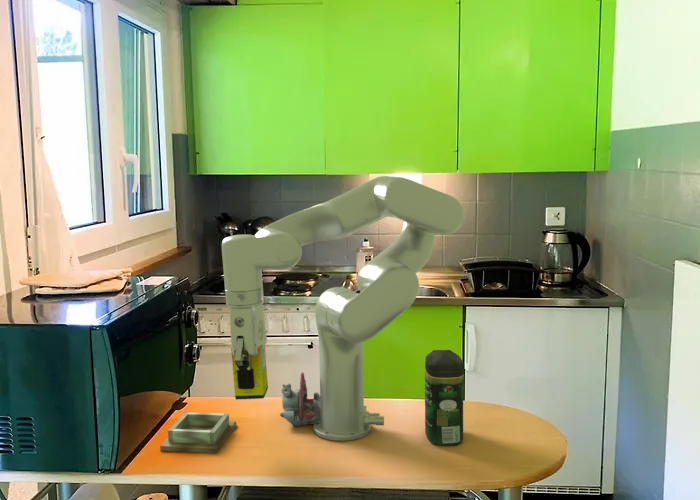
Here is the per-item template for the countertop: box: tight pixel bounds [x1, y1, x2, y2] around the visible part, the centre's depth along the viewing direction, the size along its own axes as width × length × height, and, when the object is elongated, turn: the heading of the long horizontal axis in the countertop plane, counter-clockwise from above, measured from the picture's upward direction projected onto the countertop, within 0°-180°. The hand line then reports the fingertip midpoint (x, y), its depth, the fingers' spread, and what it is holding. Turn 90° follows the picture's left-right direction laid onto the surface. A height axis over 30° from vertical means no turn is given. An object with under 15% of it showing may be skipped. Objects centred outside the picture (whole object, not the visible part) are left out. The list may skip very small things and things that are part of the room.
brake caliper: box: [279, 371, 321, 427], centre depth 155 cm, size 11×11×12 cm
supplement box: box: [230, 344, 269, 400], centre depth 139 cm, size 6×6×11 cm
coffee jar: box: [424, 349, 465, 447], centre depth 144 cm, size 10×8×19 cm
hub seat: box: [159, 411, 237, 454], centre depth 147 cm, size 12×14×4 cm
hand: (251, 381), depth 140 cm, fingers closed on supplement box, 6 cm apart
